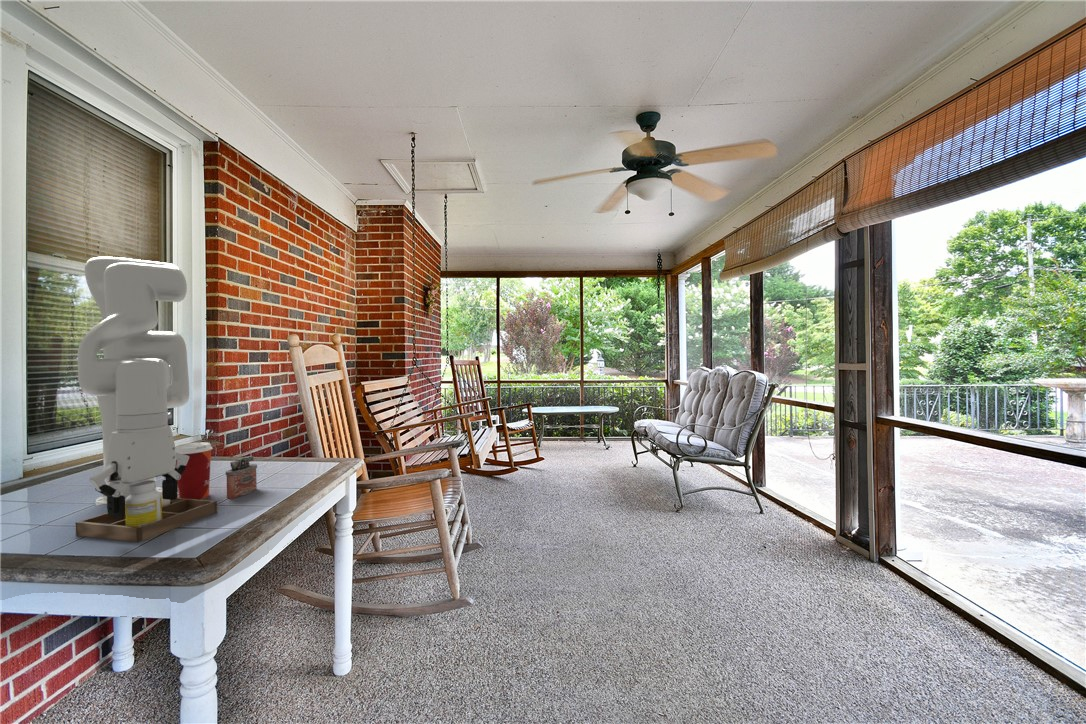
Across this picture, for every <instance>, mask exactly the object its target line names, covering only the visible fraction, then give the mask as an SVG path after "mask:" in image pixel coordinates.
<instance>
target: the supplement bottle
mask: <svg viewBox="0 0 1086 724" xmlns="http://www.w3.org/2000/svg"><path fill="white" fill-rule="evenodd" d="M156 487H157V480H156V481H153V480H149V481H141V482H136V483H133V484H130V485H129V493H131V495H130V496H128V497H127V498H126V499H125V520H126V526H130V527H143V526H145V525H148V524H151V523H154V522H157V521H159V520H162V505H161V493H160V492H158V491H155V489H156Z"/></svg>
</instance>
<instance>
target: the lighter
mask: <svg viewBox="0 0 1086 724" xmlns="http://www.w3.org/2000/svg"><path fill="white" fill-rule="evenodd" d="M254 458H255V457H254V456H253V455H249V456H245V457H242V458H241V457H238V458H235V460H233V461H230V468H231V469H228V470H226V471H225V476H226V498H227V499H236V498H238V497H242V496H245V495H248V494H250V493H253V492H255V491H257V487H258V486H257V483H258V481H257V468H258V464H257V463H251V462H253V461H254V460H255V459H254ZM250 463H251V464H250Z"/></svg>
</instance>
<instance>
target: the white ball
mask: <svg viewBox="0 0 1086 724" xmlns="http://www.w3.org/2000/svg"><path fill="white" fill-rule="evenodd" d="M160 493H161V505H162V507H163V506H166V505H169V504H170V502H171V501H170V500H167V499H163V498H162V492H160Z"/></svg>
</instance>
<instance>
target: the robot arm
mask: <svg viewBox="0 0 1086 724" xmlns="http://www.w3.org/2000/svg"><path fill="white" fill-rule="evenodd" d="M84 276H85V281H86V284H87V288H88V290H89V293H90V295H91V296H92V298H93V300H94V301H95V303H96V305H97V307H98V309H99V311H100V316H101V321H100V322H98V323H97V324H96V325H94V326H93V327H92V328H91V329H89V331H88V332H87V333H85V334H84V336H83V338H82V339H81V340H80V343H79V346H78V349H77V379H78V385H79V387H80V389H81V390H82V393H85V394H86V395H89V396H93V397H96V399H97V404H98V408H99V412H100V419H101V430H102V453H103V454H102V457H103V460H102V461H103V468H102V469H101V470H98V472H96V473H95V474H93V475H92V476H90V477H89V478H88V480H89V481H88V482H89V483H90V484H91V485H92V487H93V488H94V489H95V491H96V492H98V493H99V494H101V495H102V496H100V497H98V498H96V499H95V506H100V505H106V506H107V507H106V509H107V512H106V513H109V516H111V517H123V516H125V499H126V498H127V497H128V496H130V495H131V493H129V485H130V484H133V483H136V482H141V481H149V480H153V481H156V482H157V478H159V477H161V476H162V477H163V478H164V479H162V481H161V487H160V486H156V489H155V491H158V492H162V498H163V499H167V500H176V499H177V498H179V493H178V480H179V479H180V478H181V474H182V473H183V471H184V470H185V469H186V465H187V462H188V460H189V456H187V455H184V454H180V453H177V452H176V451H175V447H176V445H175V439H174V435H173V430H172V428H171V425H169V424H168V423H169V422H168V420H171V419H172V418H173V415H172V413H171V412H168V409H174V408H180V407H183V406H185V405H186V404H187V403H188V401H189V400H190V378H189V377H190V376H189V366H188V365H189V364H188V350H187V344H186V341H185V339H184V338H183V337H182V335H181V334H179V333H178V332H174V331H169V330H168V331H166V330H165V331H164V330H161V331H160V330H154V329H155V328H156V326H157V325H158V322H159V316H158V310H157V302H171V303H172V302H173V303H178V302H181V301H183V300H184V299H185V297H186V295H187V291H188V290H187V289H188V287H187V285H188V284H187V280H186V278H185V277H186V276H185V274H184V272H183V271H182V270H181V269H180V268H179V267H178V266H177V265H175V264H173V263H168V262H160V261H152V260H144V259H142V260H141V259H136V258H134V259H133V258H127V257H118V256H117V257H115V256H114V257H113V256H97V257H91V258H90V259H88V260H87V261H86V263H85V264H84ZM156 301H157V302H156ZM101 350H102V352H103V358H98V357H97V354H98V353H99V352H100V351H101ZM176 460H177V461H178V462H177V465H176Z"/></svg>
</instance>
